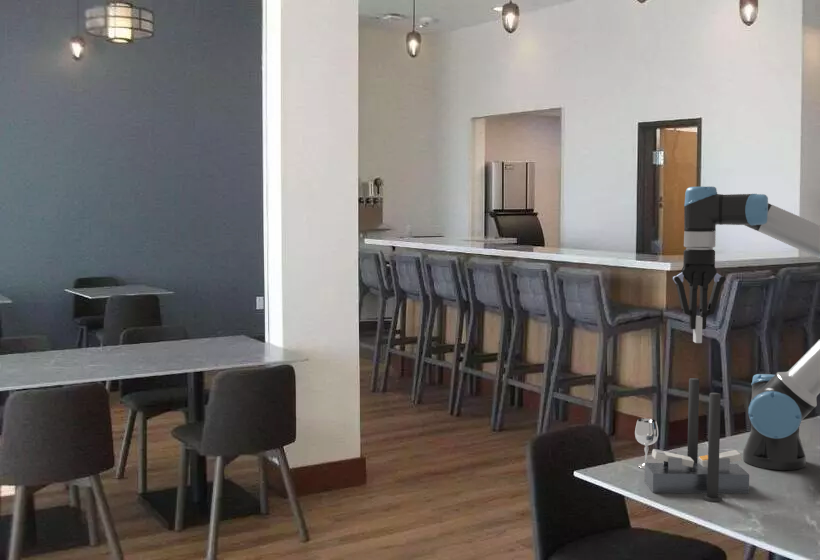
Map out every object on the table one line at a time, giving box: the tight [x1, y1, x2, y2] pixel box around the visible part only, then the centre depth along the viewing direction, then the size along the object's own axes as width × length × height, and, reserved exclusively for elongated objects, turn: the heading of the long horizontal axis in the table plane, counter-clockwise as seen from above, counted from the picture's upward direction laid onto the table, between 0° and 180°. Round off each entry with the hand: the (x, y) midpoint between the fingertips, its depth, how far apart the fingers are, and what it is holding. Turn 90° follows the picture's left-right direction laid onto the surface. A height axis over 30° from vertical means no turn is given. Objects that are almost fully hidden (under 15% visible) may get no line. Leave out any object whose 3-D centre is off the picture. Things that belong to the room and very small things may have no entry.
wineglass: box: [634, 418, 659, 470], centre depth 232 cm, size 6×6×12 cm
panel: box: [644, 451, 750, 495], centre depth 215 cm, size 22×9×8 cm, turn 87°
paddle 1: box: [651, 448, 694, 467], centre depth 215 cm, size 9×4×2 cm, turn 88°
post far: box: [686, 377, 700, 463], centre depth 223 cm, size 4×4×24 cm
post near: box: [702, 392, 723, 503], centre depth 205 cm, size 4×4×24 cm
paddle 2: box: [698, 449, 743, 467], centre depth 214 cm, size 9×4×2 cm, turn 87°
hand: (697, 342), depth 228 cm, fingers closed
